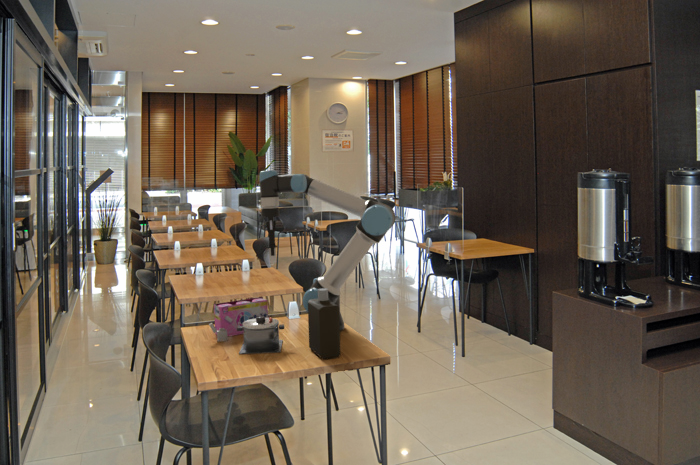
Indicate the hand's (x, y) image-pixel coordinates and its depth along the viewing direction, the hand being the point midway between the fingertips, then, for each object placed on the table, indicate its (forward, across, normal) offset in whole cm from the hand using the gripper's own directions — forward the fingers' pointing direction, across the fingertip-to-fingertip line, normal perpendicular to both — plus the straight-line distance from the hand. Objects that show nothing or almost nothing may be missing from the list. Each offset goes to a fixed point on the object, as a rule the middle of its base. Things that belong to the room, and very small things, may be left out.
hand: (273, 262), depth 235 cm
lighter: (+32, +2, -24) cm, 40 cm away
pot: (+32, +14, -6) cm, 36 cm away
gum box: (+32, -11, -15) cm, 37 cm away
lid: (+23, +14, -6) cm, 27 cm away
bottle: (+33, +27, +18) cm, 46 cm away
